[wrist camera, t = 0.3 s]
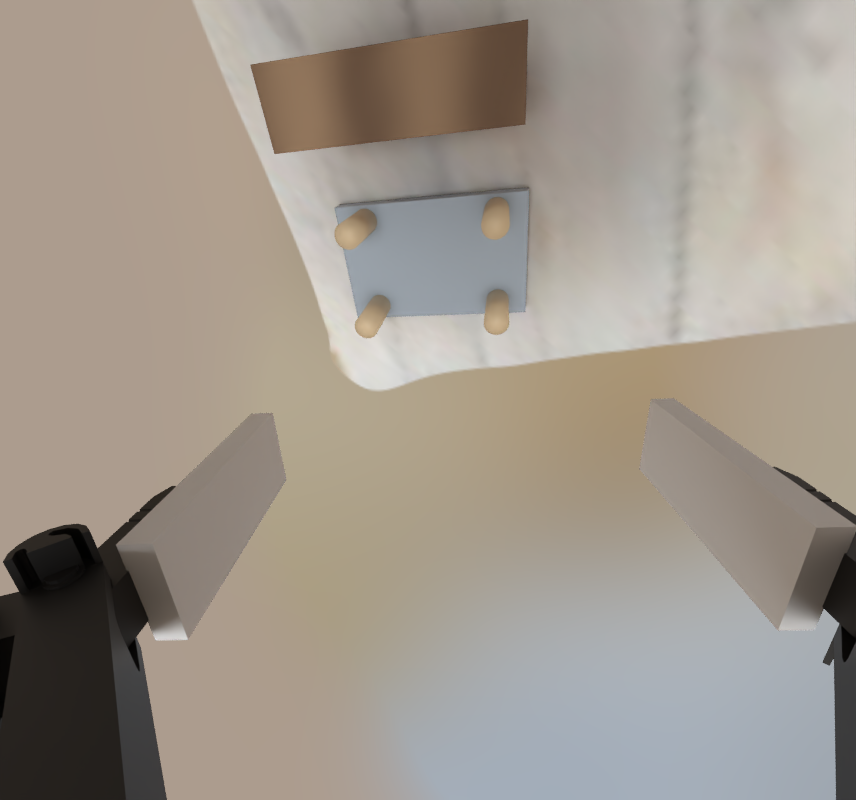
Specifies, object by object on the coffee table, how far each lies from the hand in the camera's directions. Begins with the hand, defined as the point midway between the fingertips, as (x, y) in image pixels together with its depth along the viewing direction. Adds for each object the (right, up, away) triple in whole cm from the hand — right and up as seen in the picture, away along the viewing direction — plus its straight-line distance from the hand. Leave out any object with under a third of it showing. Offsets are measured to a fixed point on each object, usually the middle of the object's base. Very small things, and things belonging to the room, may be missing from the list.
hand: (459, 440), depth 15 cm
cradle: (0, +14, +23) cm, 27 cm away
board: (-1, +24, +16) cm, 29 cm away
